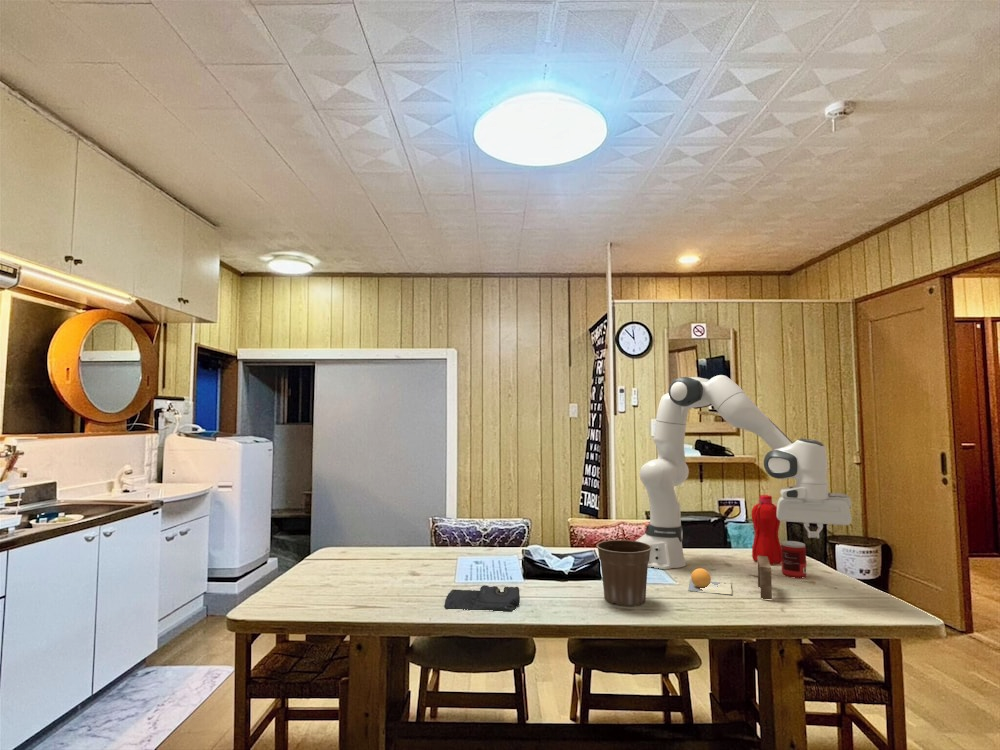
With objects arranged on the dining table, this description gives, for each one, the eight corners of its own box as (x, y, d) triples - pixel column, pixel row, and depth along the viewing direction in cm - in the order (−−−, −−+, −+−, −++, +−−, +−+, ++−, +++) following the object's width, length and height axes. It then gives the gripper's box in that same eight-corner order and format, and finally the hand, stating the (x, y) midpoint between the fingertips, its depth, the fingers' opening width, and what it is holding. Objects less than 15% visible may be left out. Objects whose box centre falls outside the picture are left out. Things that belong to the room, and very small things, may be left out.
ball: (687, 575, 187) (705, 567, 186) (687, 571, 192) (704, 563, 191) (697, 593, 185) (715, 585, 184) (696, 588, 191) (713, 581, 190)
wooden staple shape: (761, 599, 176) (760, 566, 177) (758, 586, 190) (757, 555, 191) (772, 600, 175) (771, 567, 176) (768, 587, 189) (767, 556, 190)
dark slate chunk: (450, 595, 181) (450, 579, 181) (521, 597, 179) (521, 581, 179) (441, 612, 166) (441, 594, 166) (518, 614, 164) (518, 597, 164)
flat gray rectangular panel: (688, 590, 184) (688, 590, 184) (690, 580, 197) (690, 579, 197) (732, 595, 180) (732, 595, 180) (731, 584, 192) (731, 583, 192)
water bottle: (745, 561, 223) (743, 494, 224) (765, 558, 227) (764, 493, 229) (765, 566, 214) (763, 497, 216) (786, 563, 219) (784, 496, 221)
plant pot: (611, 611, 165) (611, 553, 166) (588, 594, 181) (587, 541, 182) (662, 606, 170) (661, 550, 171) (635, 590, 185) (634, 538, 186)
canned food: (800, 572, 207) (800, 541, 207) (810, 579, 199) (809, 546, 199) (778, 572, 207) (777, 540, 208) (787, 578, 199) (786, 545, 200)
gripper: (848, 492, 179) (850, 538, 178) (775, 489, 186) (776, 533, 185) (853, 495, 173) (854, 542, 172) (777, 491, 180) (778, 537, 179)
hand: (813, 537), depth 179 cm, fingers closed
